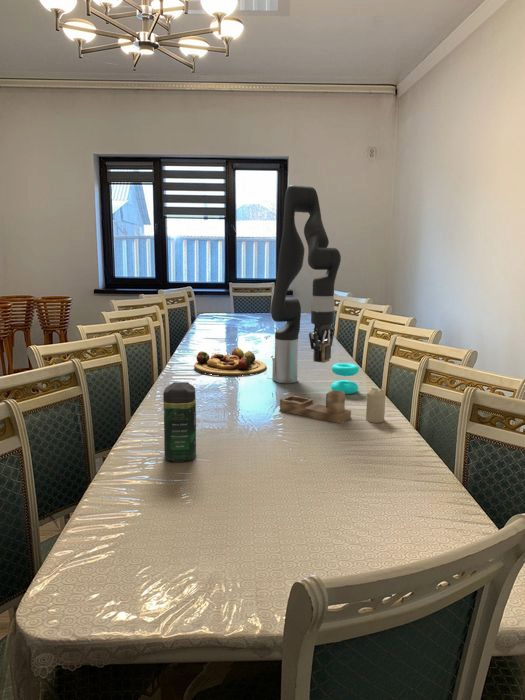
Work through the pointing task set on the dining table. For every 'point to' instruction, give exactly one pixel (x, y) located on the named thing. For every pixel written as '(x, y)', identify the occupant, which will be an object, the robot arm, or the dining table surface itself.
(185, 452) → the coffee jar
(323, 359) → the brown wooden block
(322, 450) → the dining table surface
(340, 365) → the donuts
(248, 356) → the wooden plate with food
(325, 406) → the rail
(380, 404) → the candle
